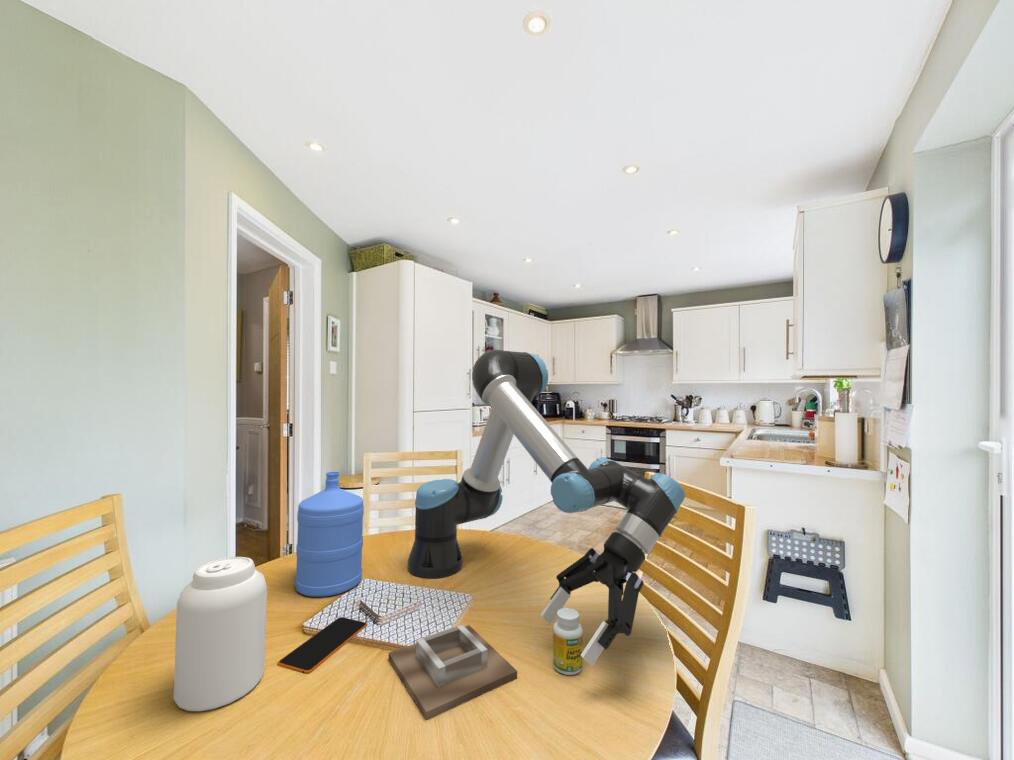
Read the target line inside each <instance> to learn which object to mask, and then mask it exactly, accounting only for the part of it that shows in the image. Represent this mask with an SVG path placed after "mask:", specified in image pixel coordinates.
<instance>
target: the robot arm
mask: <svg viewBox="0 0 1014 760" xmlns="http://www.w3.org/2000/svg"><path fill="white" fill-rule="evenodd" d="M471 382H472V385H473V388H474V391H475V392H476V394H477V396H478V397H479V399H480V400H481V401H482V402H483V404H484V405H486V406H488V407H491V408H490V411H489V414H488V417H487V420H486V423H485V425H484V429H483V432H482V435H481V437H480V439H479V443H478V446H477V449H476V451H475V455H474V456H473V460H472V463H471V466H470V467H469V468H467V469H465V470H464V471H463V474H462V477H461V480H460V482H457V481H456V480H454V479H450V478H442V479H432V480H430V481H427V482H424V483H422V484H421V485H419V487H418V489H417V490H416V493H415V494H416V495H415V502H414V505H415V515H414V516H415V518H414V520H415V522H414V524H415V525H414V542H413V544H412V548H411V549H410V553H409V556H408V560H407V571H408V572H409V573H410V574H411V575H414V576H416V577H419V578H427V579H436V578H437V579H438V578H443V577H448V576H452V575H454V574H456V573H458V572H459V571H461V569H462V568H463V556H462V555H463V554H462V551H461V548H460V545H459V542H458V539H457V536H458V534H457V533H458V532H457V530H458V525H461V524H465V523H466V524H467V523H471V522H474V521H479V520H483V519H486V518H489V517H491V516H493V515H495V514H496V513H497V512H498V511H499V510H500V508H501V506H502V504H503V499H504V498H503V495H502V493H503V489H502V486H501V481H500V479H499V478H498V477H499V475H500V472H501V470H502V468H503V467H502V466H504V465H503V464H504V461H505V459H506V457H507V454H508V451H509V448H510V445H511V443H512V440H513V437H514V436H515V438H516V439H517V440H518V441H519V443H520V444H521V445H522V447H523V448H524V449H525V451H526V452H527V453H528V454H529V455H530V457H531V458H532V459H533V461H534V462H535V463H536V465H537V466H538V467H539V468H540V470H541V471H542V472H543V473H544V475H545V476H546V477H547V478H548V480H549V481H550V482H551V486H550V495H551V497H552V502H553V504H554V505H555V506H556V508H557V509H559V510H560V511H561V512H563V513H566V514H573V513H580V512H586V511H588V510H590V509H592V508H595V507H597V506H601V505H605V504H609V503H612V502H615V503H617V504H619V505H621V506H622V507H623V508H626V509H627V511H626V513H625V514H624V515H623V517H622V518H621V519H620V520H619V522H618V523H617V525H616V526H615V528H614V529H615V531H614V532H613V531H612V532H611V533H610V535H609V537H608V538H607V539H606V540H605V542H604V543H603V551H602V553H600V554H599V553H598V552H597V551H596V550H595V549H594V548H593V547H591V548H589V549H588V551H587V552H586V553H585V554H584V555H583V556H582V557H580V558H579V559H578V560H576V561H575V562H572V564H571V565H569V566H568V567H566V568H565V569H564V570H562V571H561V572H559V573H558V574H557V575H556V577H555V578H556V580H557V581H558V584H559V585H558V587H557V588H556V589H555V591H554V593H553V594H552V595H551V597H550V599H549V602H548V603H547V605H546V606H545V607H544V608H543V610H542V611H541V613H539V614H540V616H541V617H542V618H543V619H544V620H545V621H546V622H547V623H548V624H549V625H551V624H552V623H553V622H554V620H555V618H557V611H558V610H559V609H562V608H564V606H565V605H566V603H567V601H568V600H569V599H570V597H571V594H572V593H571V592H572V591H576V590H577V589H579V588H582V587H584V586H587V585H589V584H591V583H593V582H594V583H598V582H599V583H600V584H602V585H604V586H605V587H607V589H608V600H607V601H608V602H607V603H608V606H607V608H608V609H607V610H608V611H607V619H605V621H604V620H602V622H601V624H600V625H599V627H598V628H597V629H596V631H595V633H594V634H593V636H592V637H591V639H590V640H589V641H588V643H587V644H586V646H585V648H584V649H583V650H582V653H581V656H582V659H584V660H585V662H587V663H588V664H589V665H590V666H591V667H593V666H594V665H595V663H596V662H597V661H598V659H599V657H600V655H602V653H603V651H604V650H607V649H608V648H609V647H610V646H611V644H612V643H613V641H614V640H615V638H616V637H617V636H618V634H624V635H625V636H627V637H629V636H631V635H632V631H633V626H634V622H635V621H634V619H635V614H636V609H637V605H638V600H639V594H640V592H641V590H642V587H644V583H645V582H644V580H643V579H642V578H641V577H640V576H639V575H638V574H637V573H636V572H638V571H639V569H640V568H641V566H642V564H643V563H644V561H645V560H646V555H649V554H650V552H651V550H652V549H653V548H654V546H655V545H656V543H657V542H658V541H659V539H660V537H661V536H662V534H663V533H664V531H665V530H666V528H668V525H669V524H670V523H671V521H673V519H674V517H675V516H676V514H678V511H679V509H680V507H681V506H682V504H683V502H684V501H685V498H686V492H685V489H684V488H683V486H682V485H681V483H679V482H678V481H677V480H675V478H673V477H671V476H669V475H667V474H665V473H661V472H656V473H653V475H652V476H650V478H647V477H644V476H642V475H641V474H638V473H637V472H635V471H633V470H631V469H629V468H627V467H625V466H623V465H622V464H620V463H619V462H618V461H615V460H612V459H610V458H608V457H603V456H601V457H598V458H596V459H595V460H594V461H592V462H591V464H590V465H589V467H588V468H587V466H586V465H585V464H584V463H583V462H582V461H581V460H580V459H579V458H578V456H577V455H576V453H574V451H572V449H571V448H570V447H569V446H568V444H566V442H565V441H564V440H563V438H561V436H560V435H559V434H558V433H557V431H555V429H554V428H553V427H552V426H551V425H550V424H549V423H548V421H547V420H546V419H545V418H544V417H543V415H542V414H541V413H539V411H538V409H537V408H536V407H535V406H534V405H533V404H532V403H533V402H532V401H533V400H534V397H535V396H538V395H540V394H542V393H543V392H544V391H545V390H546V389H547V386H548V382H549V371H548V369H547V365H546V363H545V361H544V360H543V359H542V358H541V357H540V356H539V355H536V354H534V353H529V352H526V351H525V352H524V351H523V352H521V351H513V350H512V351H510V350H502V349H492V350H489V351H486V352H484V353H483V354H481V355H480V356H479V357H477V360H476V361H475V362H474V365H473V368H472V371H471ZM624 584H625V585H624ZM624 586H625V587H624Z"/></svg>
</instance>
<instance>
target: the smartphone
mask: <svg viewBox="0 0 1014 760" xmlns="http://www.w3.org/2000/svg"><path fill="white" fill-rule="evenodd" d="M367 626H369V625H368V623H367V622H365V621H361V620H357V619H352V618H349V617H345V616H340V617H338V618H336V619H334V620H333V621H332V622H331V623H329V624H328V625H326V626H325V627H324V628H323V629H321V630H320V631H318V632H317V633H315V634H314V635H313V636H311V637H310V638H309V639H307V640H306V641H305V642H302V643H301V645H299V646H297V647H296V648H294V649H293V650H292V651H291V652H289V653H288V654H287V655H285V656H284V657H282V658H281V659H280V660H278V661H277V666H278V667H282V668H285V669H287V670H288V669H289V670H292V671H295V672H299V673H304V675H305V674H306V675H308V674H311V673H312V672H314V671H315V670H316V669H317V668H318V667H320V666H322V664H323V663H325V662H326V661H327V660H328V659H329V658H330V657H332V656H333V655H335V653H336V652H338V651H339V650H340V649H341V648H342V647H343V646H345V645H346V644H348V643H349V642H350V641H351V640H352V639H353V638H355V636H357V635H358V634H360V632H361V631H363V630H364V629H366V627H367Z"/></svg>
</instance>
